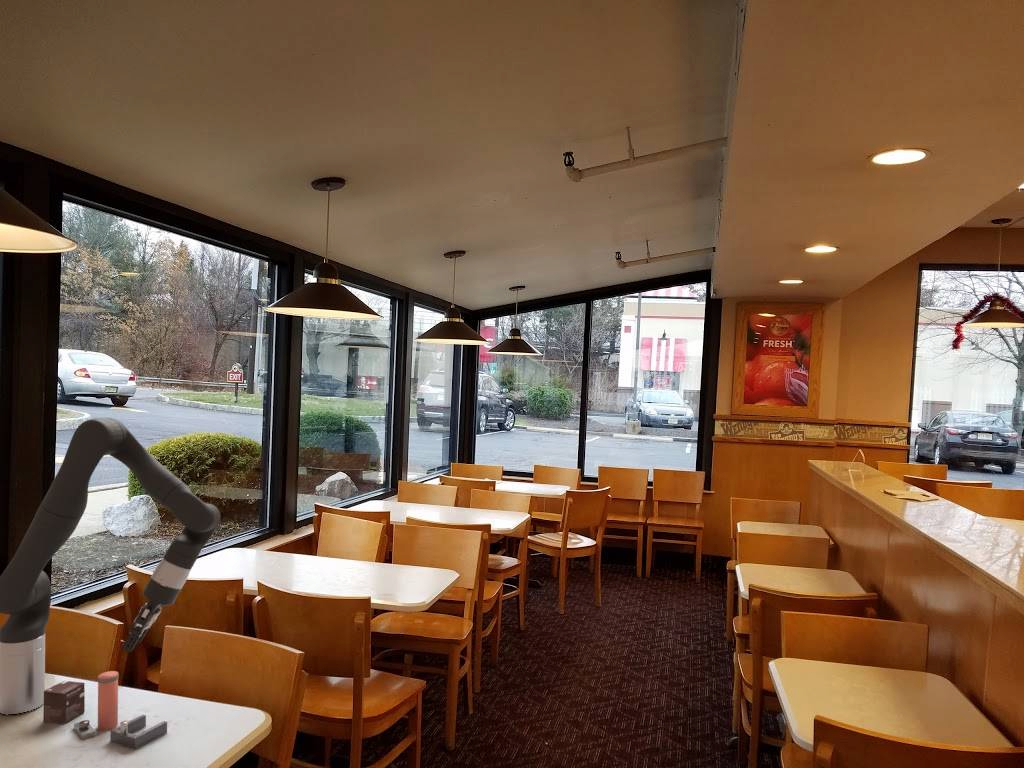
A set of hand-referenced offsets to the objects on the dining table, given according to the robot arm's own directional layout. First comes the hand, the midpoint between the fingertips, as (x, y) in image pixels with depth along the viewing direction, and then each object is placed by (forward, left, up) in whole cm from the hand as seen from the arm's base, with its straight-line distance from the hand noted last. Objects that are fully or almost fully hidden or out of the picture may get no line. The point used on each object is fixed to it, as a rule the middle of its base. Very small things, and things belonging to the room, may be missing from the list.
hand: (130, 646), depth 161 cm
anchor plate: (-2, -9, -18) cm, 20 cm away
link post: (-1, -4, -18) cm, 18 cm away
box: (-13, -10, -18) cm, 25 cm away
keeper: (+9, 0, -18) cm, 20 cm away
